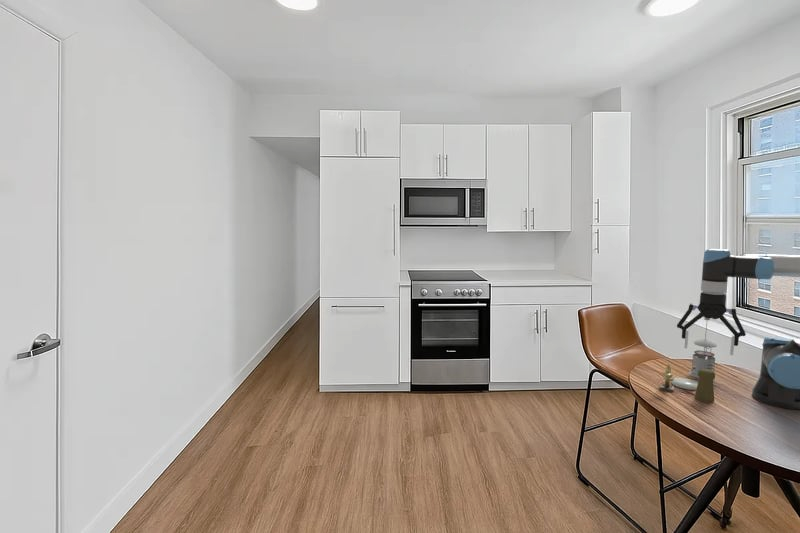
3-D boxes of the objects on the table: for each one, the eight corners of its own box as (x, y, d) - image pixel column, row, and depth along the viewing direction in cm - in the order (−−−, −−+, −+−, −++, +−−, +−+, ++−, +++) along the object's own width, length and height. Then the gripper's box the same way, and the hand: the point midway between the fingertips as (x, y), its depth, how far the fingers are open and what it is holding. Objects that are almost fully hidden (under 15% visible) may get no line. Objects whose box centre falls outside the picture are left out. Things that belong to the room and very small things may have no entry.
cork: (717, 403, 160) (720, 373, 159) (698, 401, 161) (701, 372, 160) (709, 396, 166) (712, 367, 164) (691, 395, 167) (693, 366, 166)
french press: (685, 375, 188) (689, 316, 185) (693, 368, 196) (698, 312, 193) (712, 381, 181) (718, 321, 178) (720, 374, 189) (725, 316, 186)
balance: (674, 385, 176) (676, 358, 175) (672, 395, 167) (674, 366, 165) (661, 383, 179) (663, 356, 177) (658, 392, 169) (660, 364, 168)
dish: (702, 384, 178) (702, 381, 178) (701, 392, 170) (701, 389, 170) (672, 378, 183) (673, 376, 183) (670, 386, 175) (671, 383, 175)
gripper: (757, 294, 155) (751, 354, 157) (673, 287, 169) (668, 342, 172) (759, 298, 149) (752, 360, 151) (671, 290, 163) (667, 347, 165)
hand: (708, 350), depth 161 cm, fingers open, 13 cm apart
